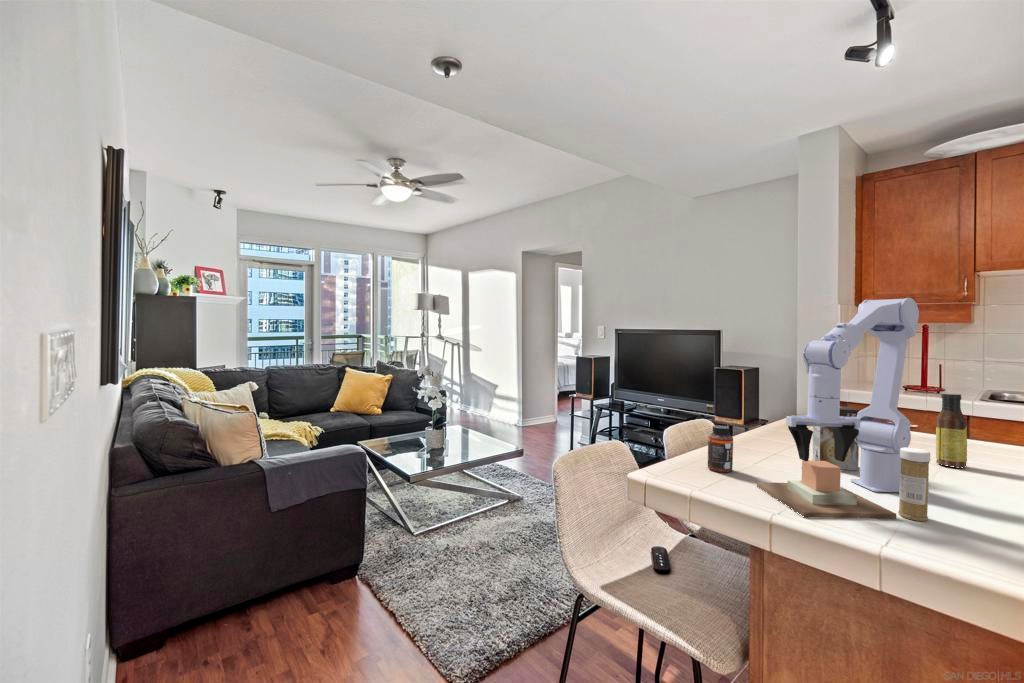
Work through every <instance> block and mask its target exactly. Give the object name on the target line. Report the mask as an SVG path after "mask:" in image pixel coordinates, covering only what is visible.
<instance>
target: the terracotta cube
mask: <svg viewBox="0 0 1024 683" xmlns="http://www.w3.org/2000/svg"><path fill="white" fill-rule="evenodd" d="M841 470H842V469H841V468H840V467H838V466H836V465H834V464H831V463H829V462H827V461H812V460H808V461H803V460H801V481H802V484H804V485H806V486H808V487H810V488H811V489H813V490H815V491H840V487H841V474H842V473H841Z"/></svg>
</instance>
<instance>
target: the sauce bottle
mask: <svg viewBox="0 0 1024 683" xmlns="http://www.w3.org/2000/svg"><path fill="white" fill-rule="evenodd" d="M940 396H941V397H940V398H941V400H942V401H941V403H942V404H941V411H940V412H939V413H938V414H937V416H936V427H935V458H936V464H937V463H939V464H942V465H948V466H954V467H965V466H966V467H967V462H968V434H967V433H968V424H967V422H966V421H967V420H966V419H965V417H964V415H963V412H962V409H961V401H962V394H960V393H953V392H942V393H941V394H940ZM939 464H938V465H939ZM966 467H965V468H966Z"/></svg>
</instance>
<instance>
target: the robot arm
mask: <svg viewBox="0 0 1024 683" xmlns="http://www.w3.org/2000/svg"><path fill="white" fill-rule="evenodd" d="M919 317H920V310H919V308H918V304H917V302H916V301H915V300H914V299H913V298H911V297H905V298H892V299H889V298H888V299H865V300H863V301H862V302H861V303H859V304H858V308H857V313H856V314H855V316H854V317H852V319H850V321H849V322H838V323H836V325H835V327H834V328H832V329H831V330H829V332H827V333H826V334H824V336H823V337H821V338H820V339H819V340H818V339H817V340H816V339H814V340H811V341H810V342H808V343H807V344H806V345H805V347H804V350H803V352H802V359H803V360H802V361H803V363H804V364H805V373H806V374H807V375H808V382H807V384H808V387H807V389H808V390H807V412H806V413H807V414H803V415H801V414H800V415H787V416H785V418H786V419H785V422H786V423H785V424H786V426H787V427H788V431H789V433H790V434H791V435H792V438H793V439H794V442H795V443H794V444H795V446H796V448H797V452H798V457H799V458H798V459H799V460H801V461H810V460H809V459H810V445H811V440H812V438H813V430H811V429H809V427H813V426H828V427H832V430H833V435H834V443H835V446H834V455H835V459H836V460H839V461H841V462H844V461H845V458H846V455H847V452H848V450H849V448H850V446H851V444H852V442H853V441H854V440H855V442H856V443H858V447H859V448H860V458H859V460H860V461H859V462H860V463H859V465H860V466H859V478H851V479H850V482H852V483H854V484H857V485H858V486H861V487H863V488H864V489H867V490H870V491H872V492H874V493H899V490H900V472H901V459H900V458H901V457H900V449H901V448H904V447H909V446H910V444H911V441H912V433H911V421H910V420H909V418H908V417H906V416H905V415H904V414H903V412H901V411H900V410H898V406H899V399H900V392H901V386H902V381H903V380H902V379H903V374H904V373H903V372H904V368H905V361H906V360H905V359H906V354H907V347H908V342H909V339H910V338H913V337H914V336H916V332H917V329H918V328H917V327H918V324H919V322H918V321H919ZM867 332H868V333H869V334H870V335H871V336H873V337H876V338H878V339H879V341H880V342H879V343H880V344H879V349H878V355H877V362H876V368H875V373H874V382H873V385H872V391H871V392H872V393H871V399H870V405H868V406H867V407H865V408H863V409H861V410H859V412H858V414H857V417H843V416H839V415H840V406H841V383H842V382H841V381H842V380H841V379H842V368H844V367H845V366H846V365H847V363H848V359H849V357H850V356H851V353H852V351H853V350H854V349H855V348H857V347H858V346H859V345H861V343H862V342H863V341H864V340H863V339H864V334H866V333H867ZM882 420H883V421H882ZM817 423H825V424H817Z"/></svg>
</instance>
